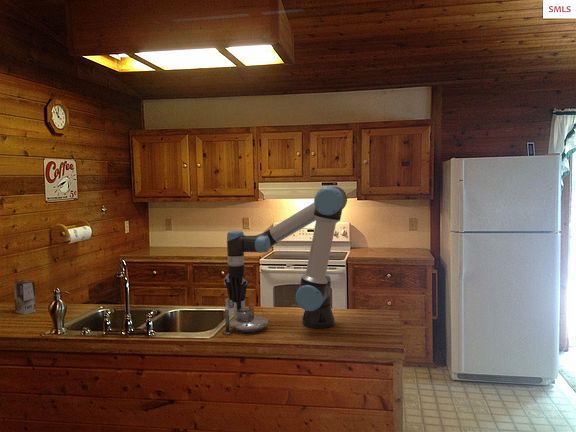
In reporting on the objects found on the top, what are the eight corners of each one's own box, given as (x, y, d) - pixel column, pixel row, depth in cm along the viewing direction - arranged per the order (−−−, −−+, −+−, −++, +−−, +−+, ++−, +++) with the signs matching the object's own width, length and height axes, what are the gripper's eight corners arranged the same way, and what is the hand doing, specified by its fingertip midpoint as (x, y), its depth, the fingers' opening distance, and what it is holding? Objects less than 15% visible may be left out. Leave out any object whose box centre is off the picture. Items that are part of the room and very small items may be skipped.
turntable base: (267, 328, 215) (267, 323, 215) (251, 335, 205) (251, 330, 205) (247, 324, 222) (247, 320, 222) (230, 330, 212) (230, 326, 212)
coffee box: (36, 311, 250) (35, 281, 249) (24, 314, 244) (22, 283, 243) (27, 309, 255) (25, 280, 254) (14, 312, 249) (13, 282, 248)
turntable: (275, 322, 215) (275, 306, 215) (251, 332, 201) (251, 314, 201) (246, 317, 225) (246, 301, 225) (222, 326, 211) (221, 309, 211)
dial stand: (225, 335, 205) (225, 309, 204) (221, 333, 208) (220, 307, 207) (234, 333, 207) (234, 307, 206) (230, 331, 210) (229, 306, 210)
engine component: (243, 314, 239) (246, 309, 249) (242, 274, 238) (246, 270, 248) (222, 314, 240) (226, 309, 250) (221, 274, 239) (225, 270, 249)
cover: (255, 319, 216) (255, 307, 215) (245, 323, 210) (245, 311, 210) (243, 317, 220) (242, 306, 219) (233, 320, 214) (233, 309, 213)
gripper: (219, 264, 216) (221, 315, 218) (241, 267, 209) (242, 319, 210) (230, 262, 222) (232, 312, 224) (252, 264, 215) (253, 315, 216)
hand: (237, 315), depth 217 cm, fingers closed
